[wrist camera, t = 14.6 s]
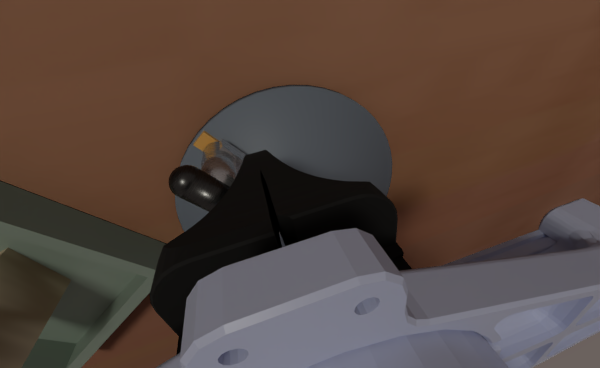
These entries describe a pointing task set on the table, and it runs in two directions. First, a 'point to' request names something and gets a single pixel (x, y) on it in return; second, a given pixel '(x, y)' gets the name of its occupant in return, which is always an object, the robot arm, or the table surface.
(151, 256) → the tray
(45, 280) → the wooden block
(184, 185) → the crank
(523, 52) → the table surface
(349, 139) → the crank base
